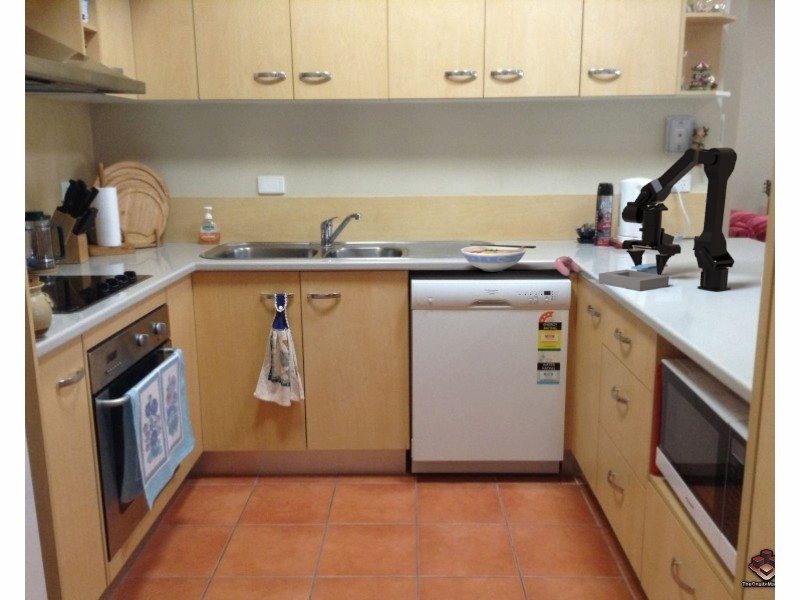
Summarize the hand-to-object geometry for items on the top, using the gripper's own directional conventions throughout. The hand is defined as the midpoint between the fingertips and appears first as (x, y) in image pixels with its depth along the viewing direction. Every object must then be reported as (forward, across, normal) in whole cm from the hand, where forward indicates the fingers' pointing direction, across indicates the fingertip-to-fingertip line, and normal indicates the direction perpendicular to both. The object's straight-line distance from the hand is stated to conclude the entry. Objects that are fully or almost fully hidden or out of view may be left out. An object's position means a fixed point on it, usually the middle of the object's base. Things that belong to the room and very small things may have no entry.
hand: (649, 273), depth 212 cm
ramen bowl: (+1, +41, +31) cm, 51 cm away
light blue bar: (+1, 0, 0) cm, 1 cm away
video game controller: (+1, +21, +16) cm, 26 cm away
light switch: (+1, -6, +14) cm, 15 cm away
